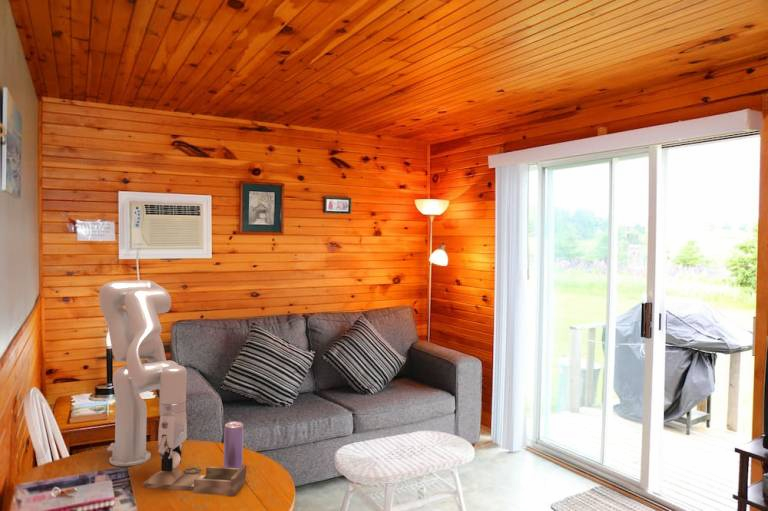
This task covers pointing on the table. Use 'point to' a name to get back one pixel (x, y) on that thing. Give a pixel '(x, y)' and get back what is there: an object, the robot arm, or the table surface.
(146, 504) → the table surface
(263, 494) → the table surface
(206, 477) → the lane
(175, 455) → the ball
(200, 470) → the grey piece
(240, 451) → the beverage can
